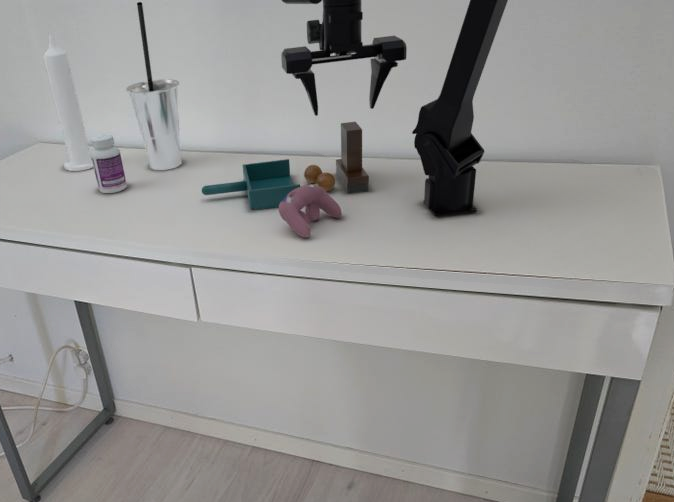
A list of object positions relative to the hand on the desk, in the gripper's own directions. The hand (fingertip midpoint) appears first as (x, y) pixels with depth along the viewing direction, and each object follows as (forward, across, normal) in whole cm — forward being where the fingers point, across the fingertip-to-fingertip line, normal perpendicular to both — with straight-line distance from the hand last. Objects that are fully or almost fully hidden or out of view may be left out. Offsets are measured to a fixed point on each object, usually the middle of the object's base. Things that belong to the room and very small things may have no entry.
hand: (343, 111), depth 108 cm
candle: (+13, +49, -32) cm, 60 cm away
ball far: (+11, +5, -4) cm, 13 cm away
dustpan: (+13, +17, -2) cm, 21 cm away
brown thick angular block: (+13, -2, -2) cm, 13 cm away
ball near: (+11, +4, +1) cm, 12 cm away
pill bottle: (+13, +41, -14) cm, 45 cm away
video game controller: (+13, +9, +14) cm, 21 cm away
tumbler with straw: (+13, +31, -24) cm, 41 cm away
